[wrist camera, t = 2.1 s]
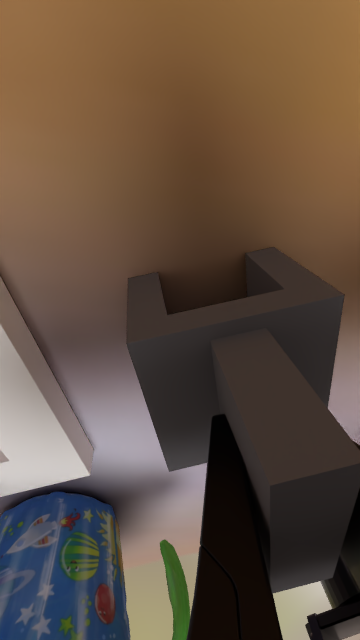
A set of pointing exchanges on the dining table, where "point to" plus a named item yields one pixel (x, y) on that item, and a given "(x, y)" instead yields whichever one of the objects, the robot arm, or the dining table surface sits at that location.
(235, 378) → the bracket
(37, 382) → the white square base
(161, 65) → the dining table surface
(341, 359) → the dining table surface
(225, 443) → the robot arm
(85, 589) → the snack cup
